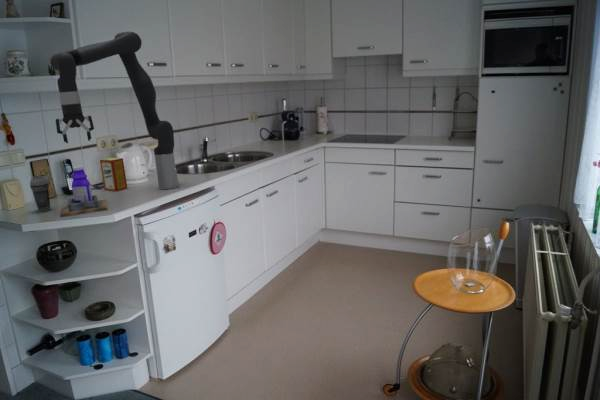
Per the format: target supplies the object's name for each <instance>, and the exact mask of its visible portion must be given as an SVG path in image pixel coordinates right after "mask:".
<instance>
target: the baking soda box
mask: <svg viewBox="0 0 600 400" xmlns="http://www.w3.org/2000/svg"><path fill="white" fill-rule="evenodd" d="M99 162H100V164H99V165H100V169H101V176H102V181H103V187H104V188H103V189H104V191H109V192H120V191H123V190H128V184H127V177H126V169H125V163H124V158H123V157H108V158H103V159H99Z"/></svg>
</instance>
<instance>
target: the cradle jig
mask: <svg viewBox="0 0 600 400" xmlns="http://www.w3.org/2000/svg"><path fill="white" fill-rule="evenodd" d="M92 198H93V201H88V202H81V203H74V197H72V198H68V203H67V204H64V205H61V209H60V215H59V216H60V218H62V217H63V218H64V217H71V216H76V215H83V214H89V213H90V212H91V213H96V212H103V211H108V205H107V201H106V199H99V200H98V195H96V194H94V195H93V194H92Z"/></svg>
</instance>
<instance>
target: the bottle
mask: <svg viewBox="0 0 600 400" xmlns="http://www.w3.org/2000/svg"><path fill="white" fill-rule="evenodd" d="M84 169H85V168H84V166H83V165H76V166H73V167H72V170H73V171H72V172H73V173H72V174H73V175H72V177H71V178H72V182H71V192H72V195H73V197H72V198H74V203H81V202H88V201H93V198H92V196H93V193H92V187H91V186H92V185H91V183H90V181H89V179H87V178H88V175H87V174H86V173H85V170H84Z"/></svg>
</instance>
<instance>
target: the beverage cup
mask: <svg viewBox="0 0 600 400" xmlns="http://www.w3.org/2000/svg"><path fill="white" fill-rule="evenodd" d="M29 184H30V185H29V187H30V189H31V191H32V194H33V196H34V197H33V198H34V201H35V204H36V207H37V210H38V212H39V213H45V212H49V211H51V202H50V201H51V200H50V191H49V188H50V186H49V184H50V183H49V181H48V179H47V178H46V177H45V176H44V175H40V166H39V165H37V175H34V176H33V177H32V178H31V179H30V183H29Z"/></svg>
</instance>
